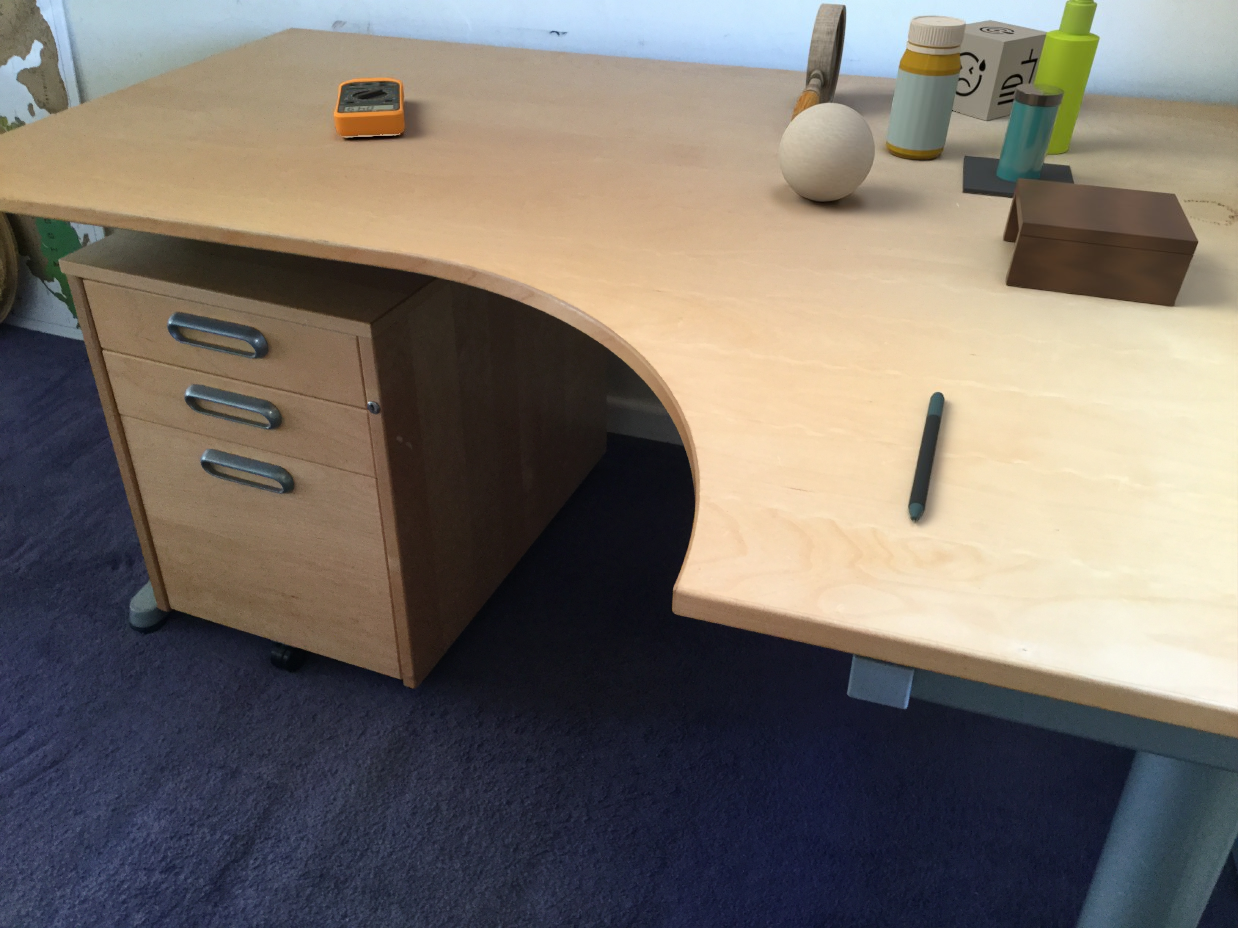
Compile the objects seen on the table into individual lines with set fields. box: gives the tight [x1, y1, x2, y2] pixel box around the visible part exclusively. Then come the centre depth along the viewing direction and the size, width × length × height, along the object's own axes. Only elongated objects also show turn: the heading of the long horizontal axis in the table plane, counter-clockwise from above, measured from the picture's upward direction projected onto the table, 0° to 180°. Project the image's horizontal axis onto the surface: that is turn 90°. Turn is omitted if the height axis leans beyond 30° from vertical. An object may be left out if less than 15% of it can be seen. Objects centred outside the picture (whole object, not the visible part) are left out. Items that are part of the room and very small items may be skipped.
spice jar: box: [996, 84, 1064, 183], centre depth 105 cm, size 5×5×10 cm
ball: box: [778, 102, 876, 202], centre depth 100 cm, size 10×10×10 cm
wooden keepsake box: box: [1002, 178, 1200, 307], centre depth 87 cm, size 14×12×6 cm
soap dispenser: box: [1034, 0, 1101, 155], centre depth 112 cm, size 6×7×20 cm
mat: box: [962, 154, 1075, 198], centre depth 108 cm, size 12×12×1 cm
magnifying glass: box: [789, 3, 847, 124], centre depth 126 cm, size 13×3×25 cm
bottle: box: [885, 14, 967, 161], centre depth 112 cm, size 7×7×15 cm
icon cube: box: [952, 19, 1048, 122], centre depth 130 cm, size 10×10×10 cm
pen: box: [907, 391, 946, 523], centre depth 63 cm, size 1×16×1 cm, turn 159°
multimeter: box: [333, 77, 406, 137], centre depth 125 cm, size 9×18×3 cm, turn 11°
